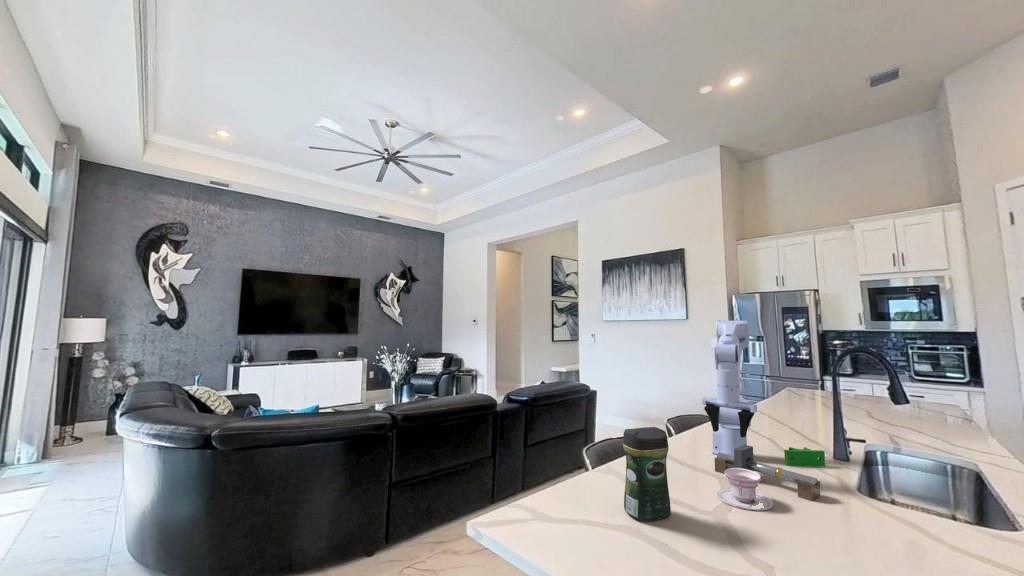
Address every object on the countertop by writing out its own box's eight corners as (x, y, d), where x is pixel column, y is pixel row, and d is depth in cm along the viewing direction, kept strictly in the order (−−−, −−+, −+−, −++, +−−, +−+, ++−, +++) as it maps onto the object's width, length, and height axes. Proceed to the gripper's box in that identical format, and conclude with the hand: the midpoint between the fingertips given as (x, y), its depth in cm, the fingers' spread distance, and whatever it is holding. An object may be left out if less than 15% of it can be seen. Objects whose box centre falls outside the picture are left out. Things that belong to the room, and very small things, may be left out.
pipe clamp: (816, 462, 128) (815, 447, 129) (825, 467, 125) (824, 451, 125) (779, 461, 129) (778, 446, 129) (787, 466, 125) (786, 450, 125)
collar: (734, 476, 115) (733, 448, 115) (746, 471, 118) (745, 444, 119) (742, 478, 113) (741, 450, 114) (753, 473, 117) (752, 446, 117)
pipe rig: (714, 470, 120) (714, 453, 120) (724, 467, 123) (723, 450, 123) (812, 501, 100) (811, 479, 101) (820, 496, 103) (819, 475, 103)
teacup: (720, 486, 109) (719, 462, 109) (774, 498, 102) (773, 472, 103) (712, 503, 99) (711, 476, 100) (772, 517, 92) (770, 487, 93)
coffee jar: (654, 503, 98) (652, 422, 100) (676, 519, 91) (675, 431, 92) (617, 508, 95) (616, 425, 97) (637, 525, 88) (636, 434, 89)
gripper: (696, 383, 125) (697, 430, 124) (748, 390, 113) (750, 442, 112) (708, 381, 129) (709, 427, 128) (759, 388, 118) (761, 437, 117)
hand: (729, 433), depth 121 cm, fingers open, 7 cm apart
